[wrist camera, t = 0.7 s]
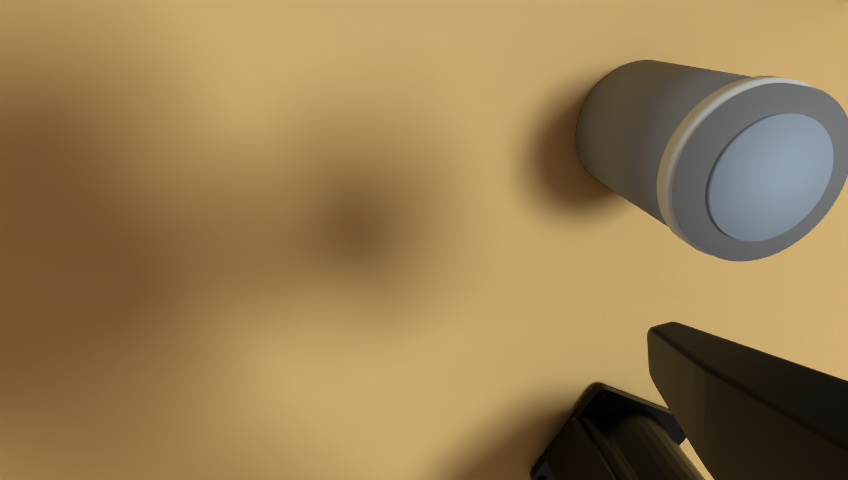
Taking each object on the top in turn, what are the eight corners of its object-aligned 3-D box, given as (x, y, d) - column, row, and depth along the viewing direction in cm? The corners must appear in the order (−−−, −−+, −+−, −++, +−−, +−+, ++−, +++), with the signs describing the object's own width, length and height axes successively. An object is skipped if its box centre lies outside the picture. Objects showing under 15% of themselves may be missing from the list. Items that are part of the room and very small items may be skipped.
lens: (723, 97, 21) (897, 137, 15) (645, 209, 22) (772, 291, 16) (624, 30, 19) (771, 42, 13) (548, 156, 21) (645, 224, 14)
